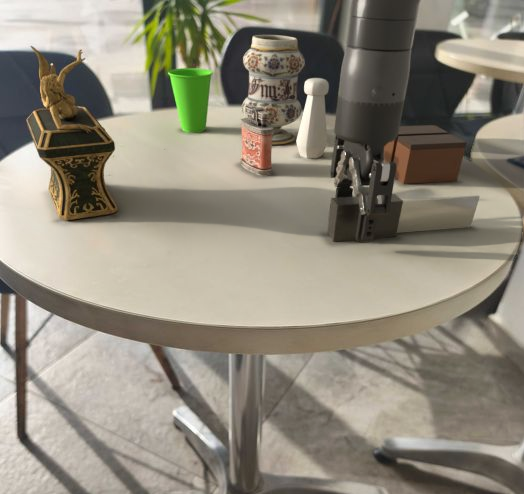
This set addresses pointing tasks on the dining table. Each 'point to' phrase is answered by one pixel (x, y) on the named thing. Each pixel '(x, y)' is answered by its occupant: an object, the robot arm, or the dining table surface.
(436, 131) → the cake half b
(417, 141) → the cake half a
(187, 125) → the cup
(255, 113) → the lighter
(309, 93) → the salt shaker
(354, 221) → the knife
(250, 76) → the apothecary jar
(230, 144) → the dining table surface
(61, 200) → the decorative box
